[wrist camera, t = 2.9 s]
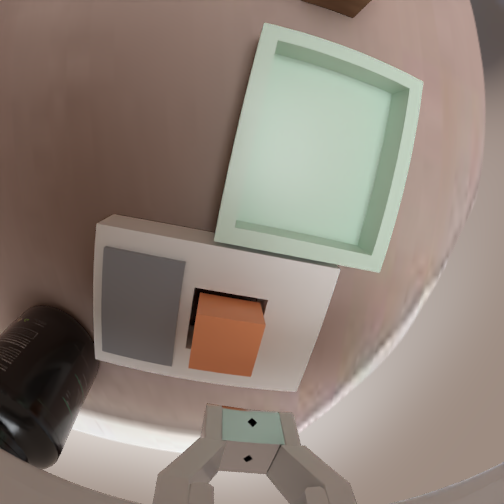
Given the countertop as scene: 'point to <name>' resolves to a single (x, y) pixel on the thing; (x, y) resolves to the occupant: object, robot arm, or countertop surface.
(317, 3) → the wooden block
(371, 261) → the bay tray
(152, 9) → the countertop surface
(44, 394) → the supplement bottle
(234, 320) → the button
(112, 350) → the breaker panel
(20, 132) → the countertop surface
